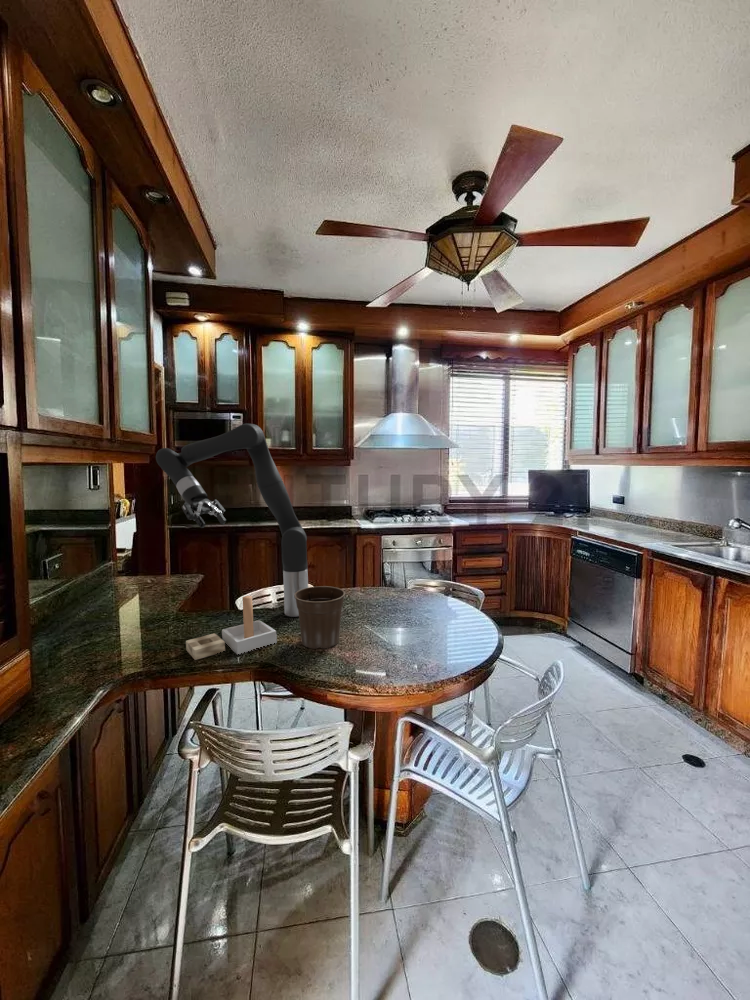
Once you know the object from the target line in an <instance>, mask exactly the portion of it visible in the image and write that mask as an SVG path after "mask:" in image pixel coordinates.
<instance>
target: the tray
mask: <svg viewBox="0 0 750 1000" xmlns="http://www.w3.org/2000/svg"><path fill="white" fill-rule="evenodd" d="M253 628H254V636H252V637H249V638H245V639H244V623H242V624H239V625H234V626H231V627H226V628H223V629H221V637H222V638H221V639H222V640H223V641H224V642H225V643H226V644H227V645H228V646H229V647H230V648H231V649H230V648H229V647H228V646H227V645H226V644H225V645H226V646H227V647H228V648H229V649H230V650H232V651H233V652H234V653H235V654H236V655H237V656H238V654H239V655H242V654H245V653H248V651H249V652H252V651H254V650H253V649H255V650H257V649H256V648H259V649H261V648H260V647H262V648H264V647H263V646H265V647H268V646H267V645H269V646H271V645H270V644H272V645H275V644H277V643H278V641H277V640H278V639H277V630H275V629H274V628H273V627H271V626H270V625H268V624H266V623H265V622H264V621H261V620H260V619H258V620H253ZM274 643H275V644H274ZM251 650H252V651H251ZM244 652H245V653H244ZM241 653H242V654H241Z"/></svg>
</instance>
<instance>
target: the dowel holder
mask: <svg viewBox="0 0 750 1000" xmlns="http://www.w3.org/2000/svg"><path fill="white" fill-rule="evenodd" d="M185 651H187V653H188V654H189V655H190V656H191V657H192V659H194V661H197V660H200V659H203V658H208V657H210V656H214V655H217V653H218V654H220V652H221V653H224V652H223V651H225V652H226V644H225V642H224V641H223V640H222V638H221V637H220V636H219V635H218V634H216V633H211V634H210V633H209V634H207V635H203V636H199V637H195V638H190V639H188V640H185Z"/></svg>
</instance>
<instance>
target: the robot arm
mask: <svg viewBox="0 0 750 1000" xmlns="http://www.w3.org/2000/svg"><path fill="white" fill-rule="evenodd" d="M269 449H270V448H269V447H268V443H267V440H266V437H265V433H264V431H263V430H262V428H261V427H260V426H259V425H257V424H254V423H242V424H240V425H239V426H237V427H235V428H233V429H231V430H228V431H227V432H224V433H221V434H220V435H217V436H213V437H211V438H210V437H209V438H206V439H202V440H197V441H195V442H193V443H189V444H186V445H183V447H181V452H178V453H177V452H176V451H175V450H172V449H171V448H168V447H163V448H160V449H159V450H157V452H156V455H155V461H156V463H157V465H158V466H159V467H160V468H161V470H162V471H163V472H164V473H165V474H166V475H167V476H168V477H169V478H170V480H171V481H172V483H173V485H174V486H175V487H176V489H177V491H178V493H179V494H180V496H181V498H182V499H183V500H184V504H183V505H182V506H181V509H182V511H183V513H184V514H185V517H186V518H187V520H189V521H191V520H193V521H195V522H196V524H197V525H198V527H200V529H204V528H205V527H206V526H207V524H206V521H204V519H203V518H202V516H201V515H203V514H204V515H205V514H209V515H210V516H214V517H216V519H217V520H218V522H219V523H220V525H222V526H223V525H225V524H226V522H227V519H226V518H225V517H224V515H223V514H224V513H225V512H226V509H225V508H224V506H223V505H222V504H221V503H220V502H219V500H217V499H214V500H213V501H212V500H210V499H209V497H208V493H206V491H205V490H204V488H203V487H202V485H201V483H200V482H199V481H198V479H196V478H195V477H194V475H193V473H192V472H191V471H190V470H189V468H188V467H189V466H190V465H192V464H194V463H198V462H201V461H205V460H207V459H211V458H214V456H218V455H220V454H222V453H225V452H230V451H236V450H247V452H248V454H249V457H250V458H251V460H252V463H253V466H254V475H255V480H256V484H257V487H258V490H259V492H260V494H261V497H262V499H263V501H264V503H265V504H266V506H267V508H268V509H269V510H270V512H271V513H272V515H273V516H274V518H275V519H276V520H275V521H277V524H278V526H279V527H278V528H279V530H280V533H281V536H282V537H281V541H280V542H281V564H282V573H283V574H282V576H283V600H284V601H283V604H284V606H283V607H284V608H283V609H284V615H285V616H287V617H292V618H293V617H299V613H298V608H297V604H296V599H295V597H294V594H295V593H296V592H297V591H299V590H301V589H304V588H309V576H308V572H309V571H308V551H307V550H308V547H307V539H308V537H307V533H306V532H305V529H304V528H303V526H302V525H301V523H300V521H299V519H298V517H297V515H296V514H295V510H294V508H293V505H292V502H291V499H290V496H289V493H288V491H287V487H286V485H285V483H284V481H283V478H282V476H281V474H280V472H279V470H278V467H277V466H276V463H275V461H274V460H273V457H272V454H271V453H270V450H269ZM193 511H194V512H193Z"/></svg>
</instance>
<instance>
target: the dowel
mask: <svg viewBox="0 0 750 1000" xmlns="http://www.w3.org/2000/svg"><path fill="white" fill-rule="evenodd" d="M253 608H254V607H253V596H252V595H245V596H243V597H242V612H243V613H242V617H243V619H242V621H243V624H244V639H245V638H249V637H252V636H254V628H253V621H254V609H253Z"/></svg>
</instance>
